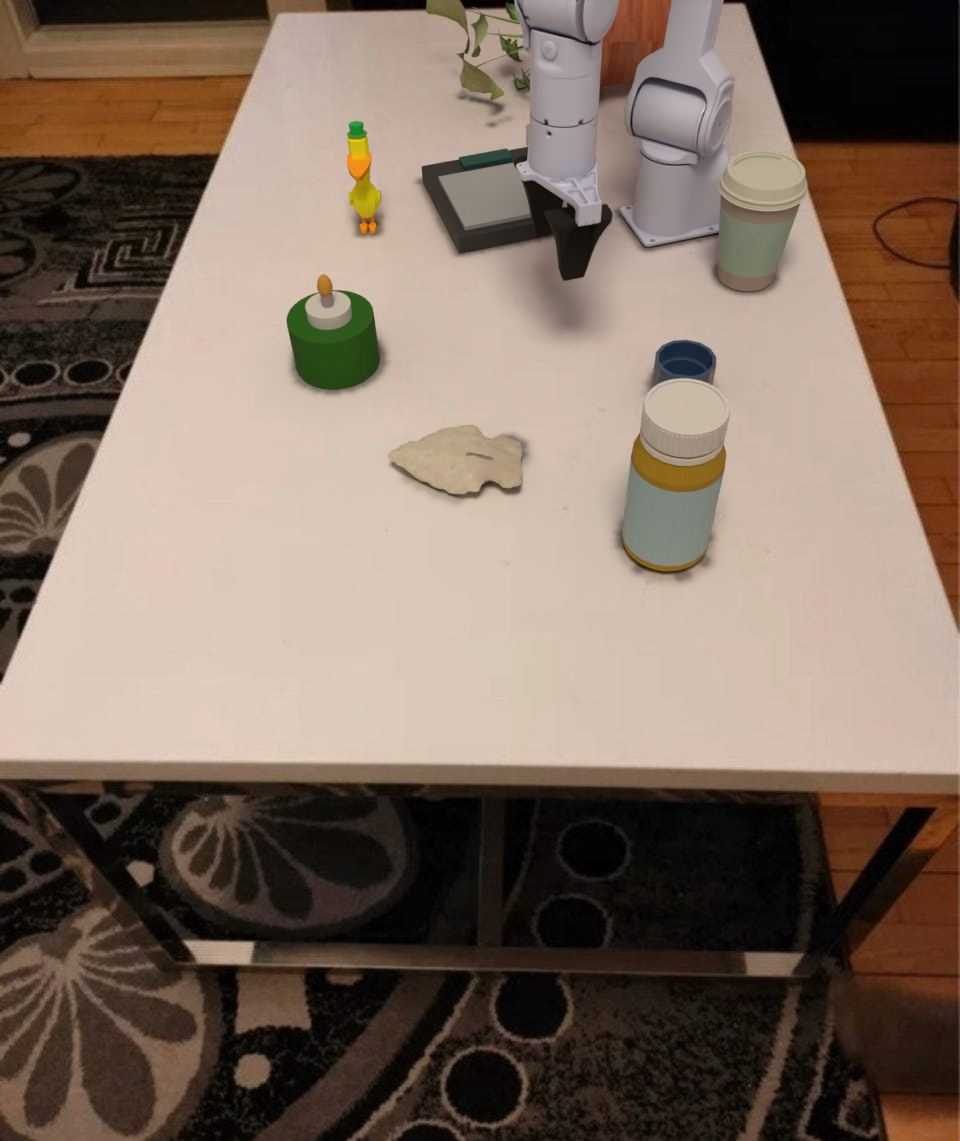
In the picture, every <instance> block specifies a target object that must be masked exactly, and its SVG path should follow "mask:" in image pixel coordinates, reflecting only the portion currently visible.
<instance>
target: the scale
mask: <svg viewBox="0 0 960 1141" xmlns="http://www.w3.org/2000/svg"><path fill="white" fill-rule="evenodd" d="M527 155H528V147H527V146H523V147H519V148H513V149H508V148H501V149H496V150H490V151H484V152H479V153H474V154H468V155H462V156H459V157H458V159H453V160H448V161H447V160H446V161H441V162H437V163H432V164H426V165H425V164H424V165H421V175H422V176H421V178H422V183H423V186H424V187H425V189H426V191H427V194H428V195H429V196H430V198H431V201H432V203H433V204H434V207H435V209H436V211H437V212H438V214H439V217H440V219H441V220H442V223H443V224H444V227H445V228H446V230H447V232H448V234H449V236H450V238H451V240H452V242H453V244H454V246H455V248H456V250H457V252H458V254H465V253H471V252H474V251H480V250H485V249H490V248H495V247H500V246H505V245H509V244H515V243H519V242H525V241H531V240H535V239H540V238H545V237H550V236H554V235H553V233H552V234H546V235H541V236H537V235H536V233H535V231H534V227H533V223H532V219H531V214H530V209H529V204H528V200H527V196H526V192H525V189H524V186H523V183H522V181H521V179H520V178H519V176H518V175H517V173H516V168H515V166H514V164H513V162H514V160H515V159H516V158H518V157H521V156H527ZM563 207H566V208H567V202H566V201H564V200H563ZM563 207H562V208H563Z"/></svg>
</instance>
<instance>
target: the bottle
mask: <svg viewBox="0 0 960 1141" xmlns="http://www.w3.org/2000/svg"><path fill="white" fill-rule="evenodd" d="M730 417H731V406H730V402H729V400H728V398H727V397H726V395H725V394H724V393H723V392H722V391H721V390H720V389H718V388H717V387H716V386H714V385H711V384H708V383H706V382H703V381H700V380H695V379H688V378H678V379H671V380H667V381H664V382H661V383H659V384H657V385H656V386H654V387H653V388H652V387H651V389H649V390H648V392H647V393H646V395H645V397H644V399H643V403H642V410H641V418H640V428H639V429H640V430H639V433H638V434H637V436H636V438H635V439H634V441H633V444H632V448H631V454H630V461H629V471H628V480H627V486H626V495H625V497H626V498H625V504H624V514H623V522H622V532H621V533H622V535H621V536H622V537H621V538H622V543H623V547H624V549H625V550H626V552H627V553H628V555H629V556H630V557H631V558H632V559H633V560H635V561H636V562H637V563H638V564H640V565H642V566H644V567H646V568H649V569H651V570H654V571H659V572H676V571H677V572H678V571H682V570H684V569H685V570H686V569H687V568H690V567H692V566H694V565H695V564H697V563H698V562H699V561H701V560H702V558H703V557H704V555H705V554H706V552H707V550H708V546H709V544H710V543H709V542H710V538H711V533H712V530H713V529H712V528H713V525H714V520H715V515H716V510H717V505H718V501H719V497H720V493H721V489H722V488H721V487H722V482H723V478H724V474H725V469H726V463H727V462H726V460H727V451H726V448H725V440H726V435H727V431H728V427H729V421H730Z"/></svg>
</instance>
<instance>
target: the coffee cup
mask: <svg viewBox="0 0 960 1141" xmlns="http://www.w3.org/2000/svg"><path fill="white" fill-rule="evenodd" d="M718 188H719V191H720V193H721V200H720V222H719V233H718V247H717V271H716V272H717V273H716V274H717V275H716V276H717V278H718V279H719V281H720V282H721V283H722V284H723V285H724V286H726V287H727V288H730V289H732V290H735V291H739V292H758V291H761V290H764V289H765V288H767V287H769V286H770V285H771V284H772V283H773V281H774V277H775V274H776V271H777V269H778V266H779V264H780V261H781V258H782V256H783V253H784V250H785V248H786V245H787V242H788V239H789V236H790V233H791V231H792V228H793V225H794V223H795V221H796V217H797V214H798V212H799V210H800V206H801V203H802V202H803V201H804V200H805V199H806V196H807V194H808V180H807V178H806V169H805V167H804V165H803V164H802V162H800V161H799V160H798V159H796V158H795V157H793V156H792V155H790V154H787V153H784V152H780V151H777V150H769V149H754V150H747V151H744V152H741V153H739V154H737V155H735V156H733V157H732V158H730V160H729V162H728V164H727V167H726V169H725V170H724V171H723V172H722V174H721V177H720V180H719V183H718Z"/></svg>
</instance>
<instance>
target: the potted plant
mask: <svg viewBox="0 0 960 1141" xmlns="http://www.w3.org/2000/svg"><path fill="white" fill-rule="evenodd" d="M671 1H672V0H619V5H618V9H617V12H616V16H615V19H614V21H613V24H612V26H611V28H610V29H609V30H608V31H607V33H606V34H605V36H604V37H603V40H602V57H601V73H600V90H599V95H600V94H601V93H602V91H603V90H604V88H605V87H612V86H613V87H614V86H620V85H631V84H633V82H634V78H635V74H636V69H637V67H638V65H639V63H640V62H641V61H642V60H643V59H644V58H645V57H647V56H648V55H650V54H652V53H653V52H655V51H657V50H659V49H660V48H662V47H663V46H664V40H665V35H666V29H667V23H668V18H669V12H670V7H671ZM425 5H426V6H425V12H426V14H428V15H433V16H439V17H443V18H446V19H449V20H451V21H453V22H456V23H457V24H459V26H460V27H461V28H462V29H463V30H464V31H465V34H466V36H467V42H466V46H465V49H464V51H463V52H460V53H455V55H456V56H458V57H459V58H460V59H461V60H462V70H461V71H460V72H461V73H460V75H459V81H460V86H461V88H463V89H466V90H468V91H469V92H472V93H479V94H480V93H481V94H490V98H489V99H490V101H494V100H496V99H498V98H501V97H503V96H505V92H504V90H502V89H501V88H500V87H499V86H498V85H497V84H496V82H494V80H493V78H491V77H490V76H489V75H488V74H487V73H485V72H484V71H483V70H481V69H480V68H479V67H480V66H483V65H485V64H487V63H489V62H492V61H495V60H497V59H500V58H503V57H505V56H508V57H509V58H511V59H512V60H513V61H515V62H518V63H521V62H523V60H522V59H521V58H520V55H519V52H521V51H525V47H523V44H522V45H520V46H518V38H519V39H523V33H522V34H520V33H519V34H511V33H500V29H498V31H497V33H496V32H488V29H489V25H490V24H489V22H488V20H487V18H486V17H488V18H492V19H496V20H500V21H504V22H506V23H511V24H516V25H520V23H519V21H518V19H517V16H516V12H515V3H509V2H508V1H507V0H506V1H505V12H506V13H507V14H508V16H509V18H505V17H500V16H495V15H491V14H487V13H482V12H481V11H480V10H479V9H478V8H477V7H474V6H471V8H472V9H475V10H476V11H473V10H468V9H465V6H464V4H463V3H462V1H461V0H426V4H425ZM467 11H468V12H471V13H473V14H478V15H479V18H478V19H477V20H476V22H473V23H471V24H470V26H471V27H472V29H473V30H474V46H473V51H472V53H471V55H470V57H472V58H478V57H479V56H480V54H481V52H482V49H481V45H480V44H481V43H482V42H483V41H484V39H485V38H486V36H487V35H493V36H494V35H495V36H499V42H500V46H501V50H502V51H503V52H505V53H506V54H504V55H501V56H499V57H496V58H493V59H490V60H487V61H484V62H483V63H480V64H478V65H476V66H475V65H473V64H472V63H471V62H468V61H467V60H466V59H465V55H468V54H469V51H470V46H471V41H470V40H471V39H470V35H469V28H468V19H467V13H466V12H467ZM504 37H507V39H506V38H504ZM512 38H514V39H515V38H516V39H515V40H514V41H512ZM520 71H521V76H520V77H521V78H522V80H523V81H522V80H520V79H518V78H516V74H515V73H513V74H512V75H513V78H514V81H515V83H516V87H517V88H518V89H524V88H527V89H528V91H529V92H530V68H528V69H527V70H526V71H524V70H523V68H521V70H520ZM527 73H528V74H527Z"/></svg>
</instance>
